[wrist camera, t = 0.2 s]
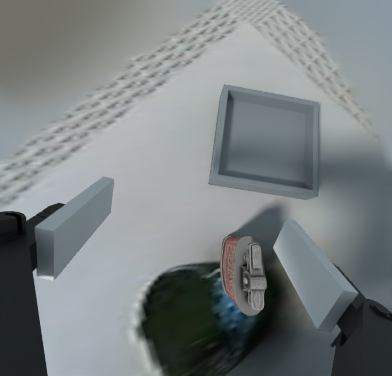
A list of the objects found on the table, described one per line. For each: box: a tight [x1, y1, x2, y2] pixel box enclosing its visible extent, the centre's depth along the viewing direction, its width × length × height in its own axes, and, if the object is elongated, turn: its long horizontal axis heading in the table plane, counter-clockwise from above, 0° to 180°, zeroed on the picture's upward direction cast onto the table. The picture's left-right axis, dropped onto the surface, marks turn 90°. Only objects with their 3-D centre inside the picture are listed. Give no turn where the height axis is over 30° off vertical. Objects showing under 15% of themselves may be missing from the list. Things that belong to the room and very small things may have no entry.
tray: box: [209, 84, 318, 200], centre depth 33 cm, size 16×16×3 cm
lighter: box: [220, 236, 267, 316], centre depth 25 cm, size 8×3×10 cm, turn 179°
